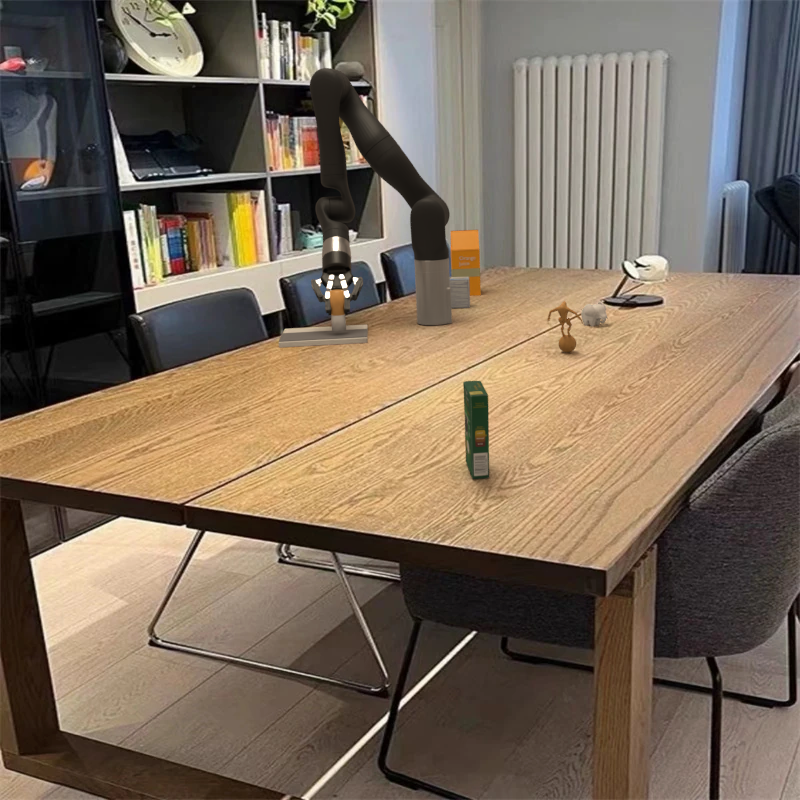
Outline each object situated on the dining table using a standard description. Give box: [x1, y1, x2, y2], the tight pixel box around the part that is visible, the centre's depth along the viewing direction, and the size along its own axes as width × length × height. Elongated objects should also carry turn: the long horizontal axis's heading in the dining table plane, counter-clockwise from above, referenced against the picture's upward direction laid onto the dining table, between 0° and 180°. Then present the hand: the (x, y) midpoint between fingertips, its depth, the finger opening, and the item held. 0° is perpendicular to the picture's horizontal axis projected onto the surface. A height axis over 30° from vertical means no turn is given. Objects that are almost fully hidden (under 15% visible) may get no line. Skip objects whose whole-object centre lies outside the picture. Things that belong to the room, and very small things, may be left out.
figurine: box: [547, 301, 584, 353], centre depth 216 cm, size 8×6×12 cm
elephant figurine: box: [580, 300, 609, 327], centre depth 246 cm, size 7×8×6 cm
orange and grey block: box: [330, 290, 347, 331], centre depth 243 cm, size 4×4×10 cm
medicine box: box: [450, 276, 471, 309], centre depth 281 cm, size 8×4×9 cm, turn 84°
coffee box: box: [463, 380, 490, 480], centre depth 143 cm, size 8×3×13 cm, turn 3°
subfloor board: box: [278, 324, 369, 348], centre depth 248 cm, size 22×18×1 cm
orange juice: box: [450, 229, 482, 297], centre depth 302 cm, size 8×9×20 cm
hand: (338, 312), depth 242 cm, fingers closed on orange and grey block, 3 cm apart
